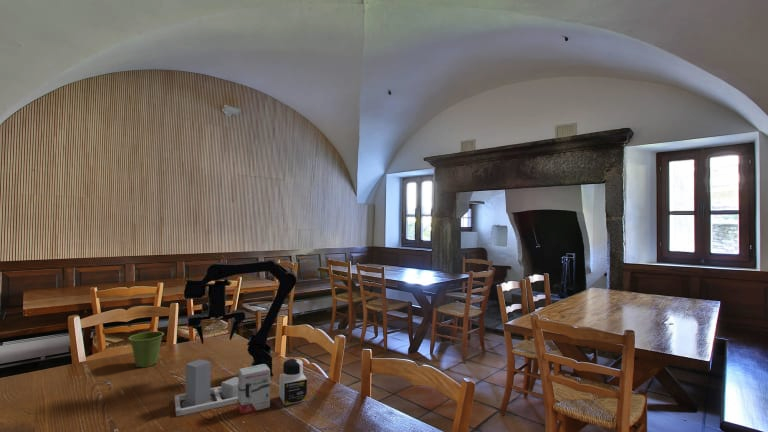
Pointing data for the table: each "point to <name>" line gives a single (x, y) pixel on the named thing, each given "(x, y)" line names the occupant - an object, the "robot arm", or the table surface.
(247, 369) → the ink box
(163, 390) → the table surface
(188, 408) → the frame
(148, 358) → the plant pot
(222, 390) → the small box
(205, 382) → the block
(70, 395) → the table surface
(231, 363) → the table surface
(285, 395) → the medicine bottle
